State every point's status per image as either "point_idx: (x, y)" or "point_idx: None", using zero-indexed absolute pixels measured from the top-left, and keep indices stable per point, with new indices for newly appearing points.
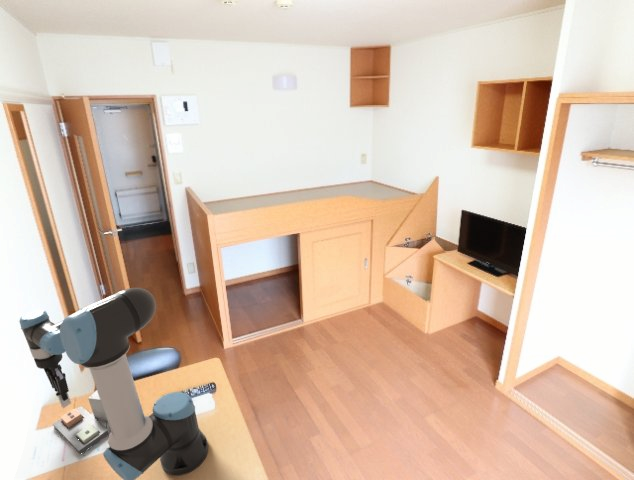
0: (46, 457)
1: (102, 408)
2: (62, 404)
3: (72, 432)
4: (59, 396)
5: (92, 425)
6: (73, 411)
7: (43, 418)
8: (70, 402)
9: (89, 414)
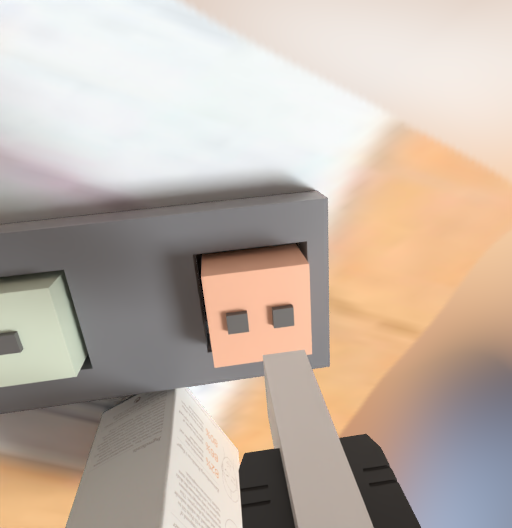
0: (73, 63)
1: (77, 503)
2: (269, 392)
3: (124, 266)
4: (293, 508)
5: (55, 378)
6: (285, 339)
7: (467, 167)
8: (270, 423)
9: (208, 379)
